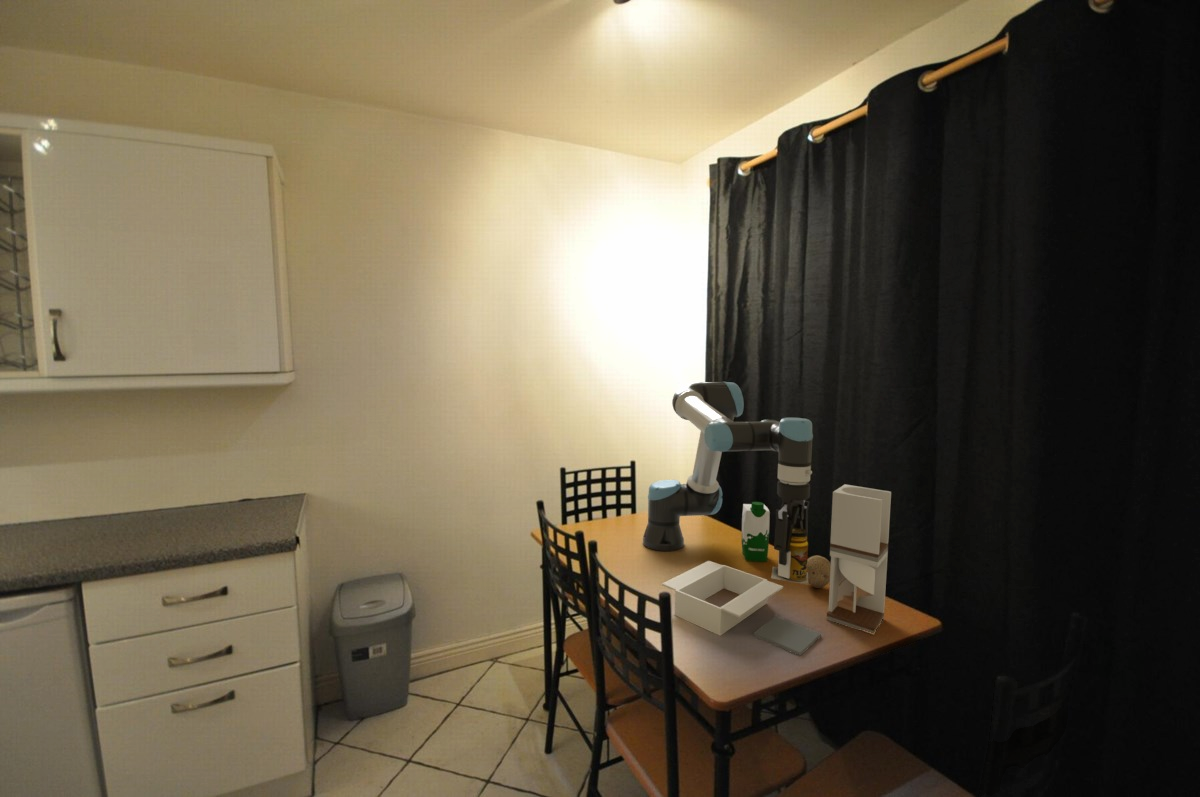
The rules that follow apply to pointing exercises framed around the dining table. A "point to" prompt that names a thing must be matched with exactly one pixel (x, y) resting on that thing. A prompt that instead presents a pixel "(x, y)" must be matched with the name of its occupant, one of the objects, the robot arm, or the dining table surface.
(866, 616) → the white cereal dispenser
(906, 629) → the dining table surface
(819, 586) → the natural sponge
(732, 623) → the carton
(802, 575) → the condiment
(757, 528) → the milk carton
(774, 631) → the slate mat
